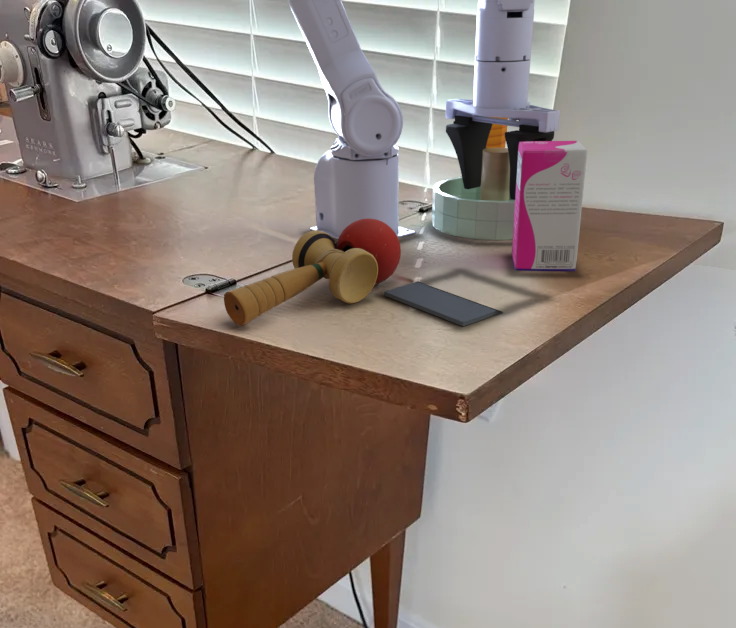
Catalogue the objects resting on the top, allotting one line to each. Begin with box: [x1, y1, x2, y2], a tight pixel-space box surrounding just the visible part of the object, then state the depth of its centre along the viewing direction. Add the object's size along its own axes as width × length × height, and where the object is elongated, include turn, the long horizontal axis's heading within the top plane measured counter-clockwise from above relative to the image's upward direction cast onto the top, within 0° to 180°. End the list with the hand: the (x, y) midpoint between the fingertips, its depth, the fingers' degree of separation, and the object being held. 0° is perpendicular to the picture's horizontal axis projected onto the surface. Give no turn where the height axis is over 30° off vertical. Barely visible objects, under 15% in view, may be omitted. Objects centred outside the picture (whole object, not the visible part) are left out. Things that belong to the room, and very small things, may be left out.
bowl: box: [431, 175, 515, 241], centre depth 89 cm, size 14×14×4 cm
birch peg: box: [480, 147, 510, 201], centre depth 88 cm, size 3×3×8 cm
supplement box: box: [511, 140, 588, 272], centre depth 75 cm, size 6×6×12 cm
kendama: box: [223, 218, 402, 327], centre depth 69 cm, size 8×6×18 cm
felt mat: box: [383, 281, 503, 327], centre depth 70 cm, size 10×10×1 cm
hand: (494, 192), depth 88 cm, fingers open, 6 cm apart
